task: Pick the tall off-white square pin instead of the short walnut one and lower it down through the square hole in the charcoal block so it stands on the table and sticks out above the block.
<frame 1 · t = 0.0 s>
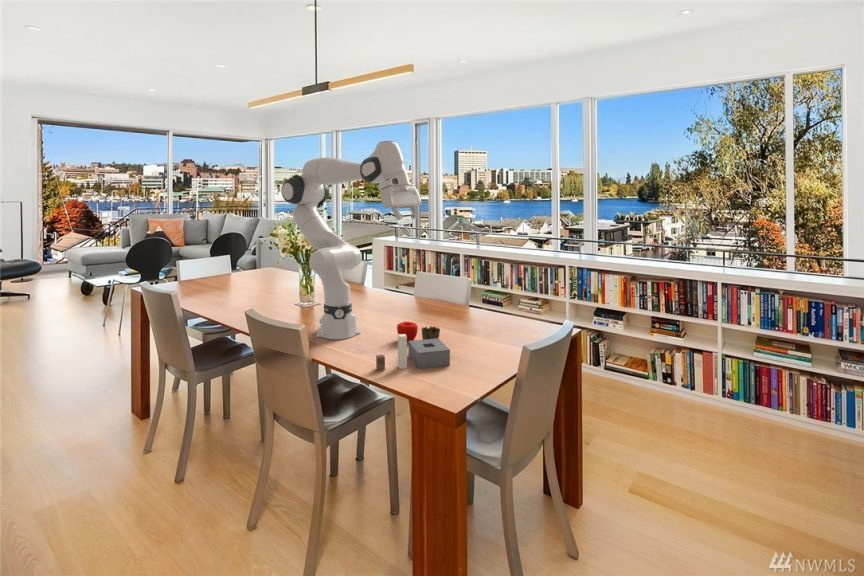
hand: (407, 219, 177), 52 cm above the table, tool tilted 20°, fingers open, 8 cm apart
short pin: (380, 369, 169), on the table
small green plant: (430, 348, 192), on the table
tall pin: (402, 367, 171), on the table
apple: (407, 341, 201), on the table
hole block: (428, 360, 178), on the table
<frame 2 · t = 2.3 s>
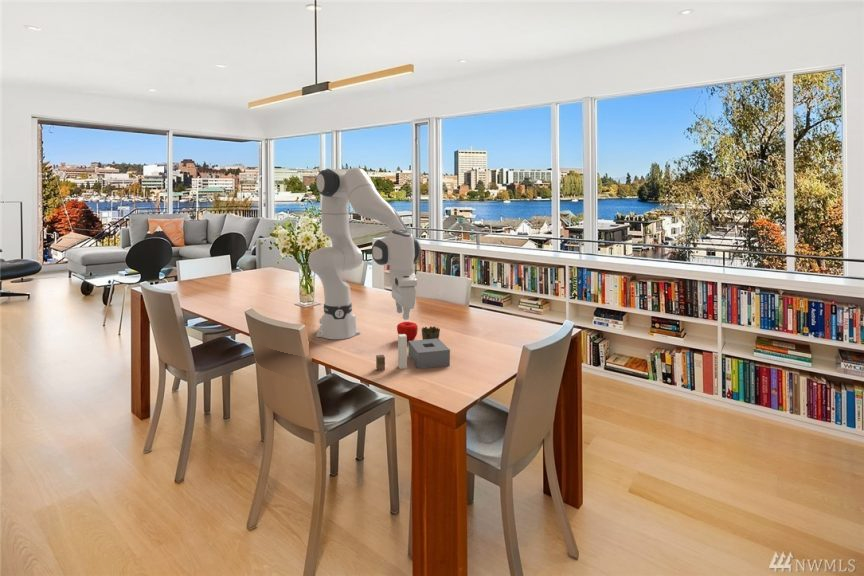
hand: (402, 315, 167), 19 cm above the table, tool pointing down, fingers open, 8 cm apart
nothing on the table moved.
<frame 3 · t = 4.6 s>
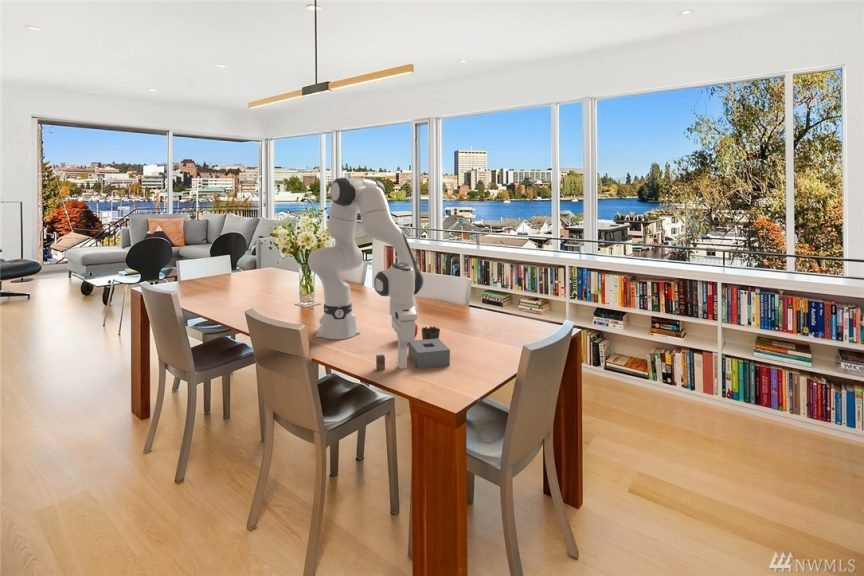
hand: (402, 347, 169), 8 cm above the table, tool pointing down, fingers closed on tall pin, 3 cm apart
tall pin: (402, 367, 171), on the table, touching gripper
everything else where it was.
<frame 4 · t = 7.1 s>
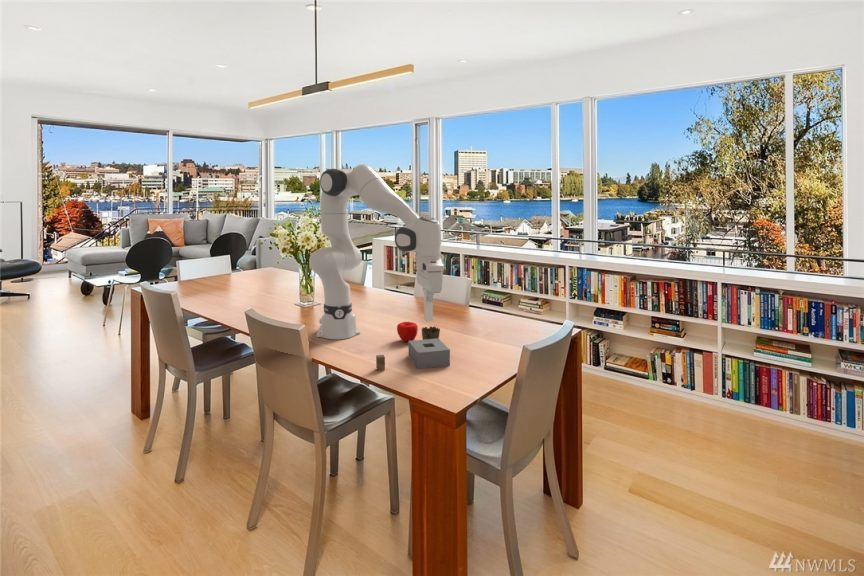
hand: (428, 300, 173), 23 cm above the table, tool pointing down, fingers closed on tall pin, 3 cm apart
tall pin: (428, 320, 174), point 16 cm above the table, touching gripper
everything else where it was.
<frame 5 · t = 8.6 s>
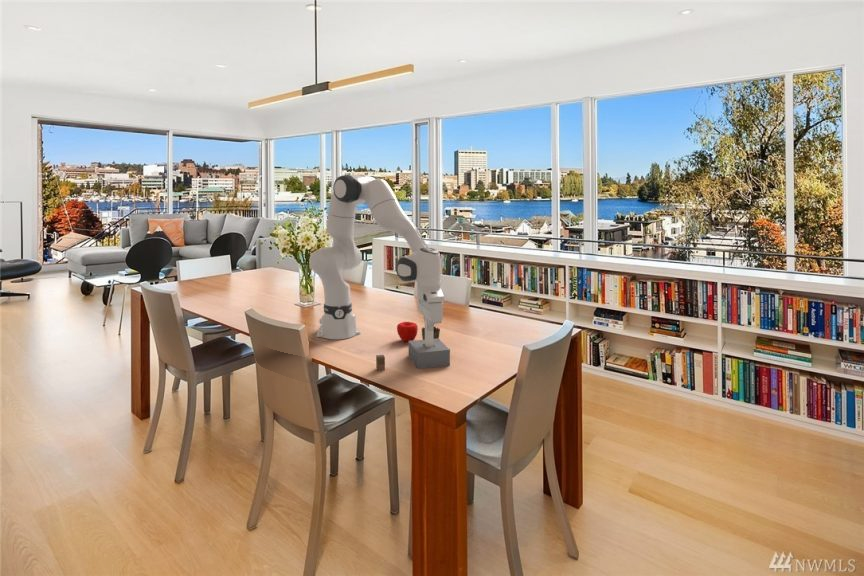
hand: (429, 329, 175), 12 cm above the table, tool pointing down, fingers closed on tall pin, 3 cm apart
tall pin: (429, 348, 177), point 5 cm above the table, touching gripper
everything else where it was.
when the fingers open (9 cm above the table, at t = 9.9 s): tall pin stays where it is, resting in hole block.
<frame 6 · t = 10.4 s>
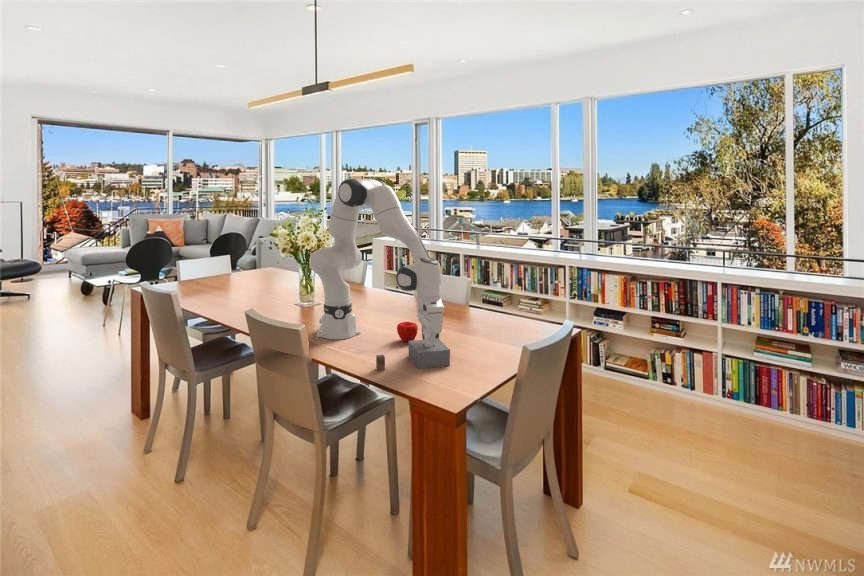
hand: (428, 338, 176), 9 cm above the table, tool pointing down, fingers open, 8 cm apart
tall pin: (428, 360, 178), resting in hole block
everything else where it was.
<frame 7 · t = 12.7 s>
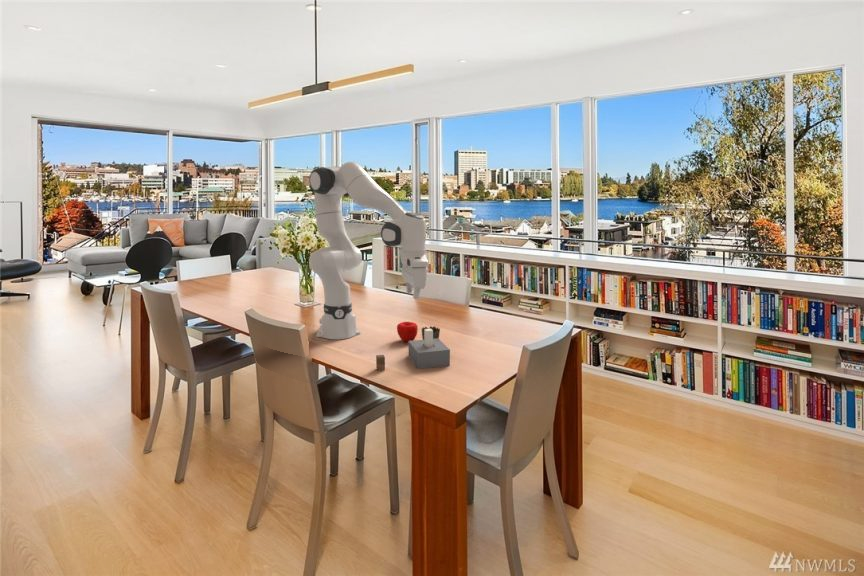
hand: (412, 295, 174), 25 cm above the table, tool pointing down, fingers open, 8 cm apart
nothing on the table moved.
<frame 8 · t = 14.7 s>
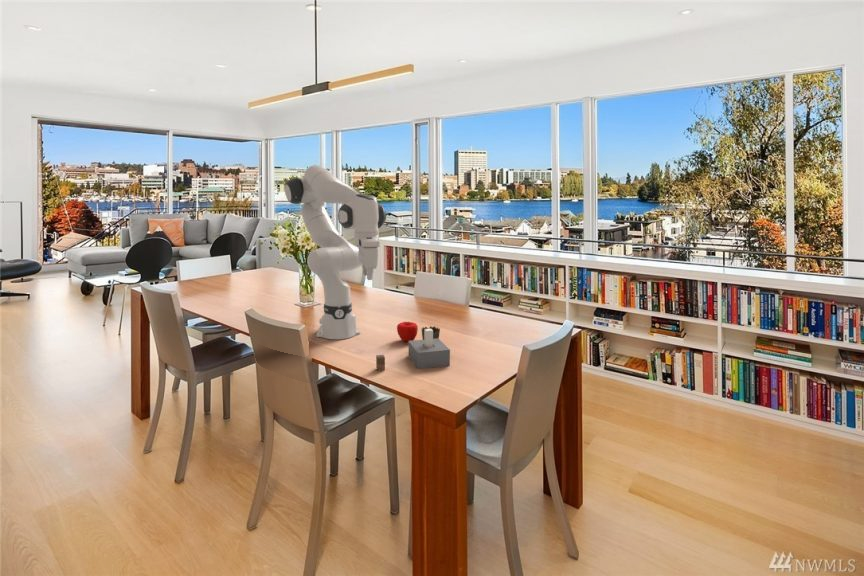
hand: (367, 277, 174), 31 cm above the table, tool pointing down, fingers open, 8 cm apart
nothing on the table moved.
at the end: tall pin 0.1 cm off-centre on the hole block, point 0.0 cm above the hole block's base; tall pin tilted 0°; short pin moved 0.0 cm from its start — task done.
